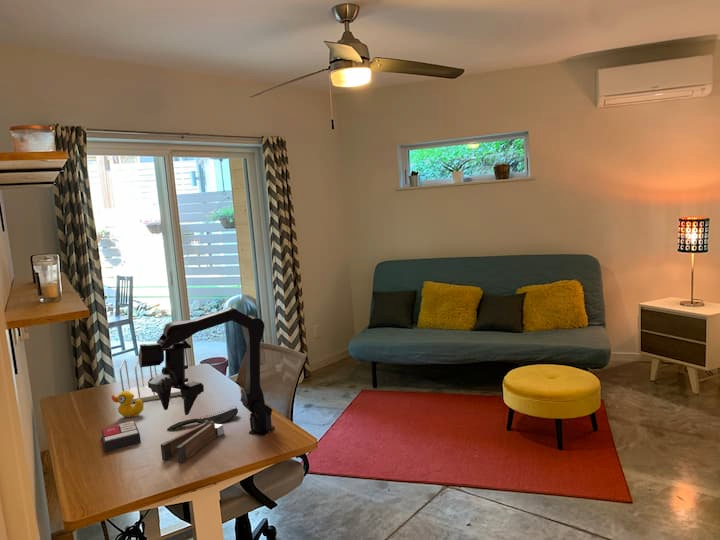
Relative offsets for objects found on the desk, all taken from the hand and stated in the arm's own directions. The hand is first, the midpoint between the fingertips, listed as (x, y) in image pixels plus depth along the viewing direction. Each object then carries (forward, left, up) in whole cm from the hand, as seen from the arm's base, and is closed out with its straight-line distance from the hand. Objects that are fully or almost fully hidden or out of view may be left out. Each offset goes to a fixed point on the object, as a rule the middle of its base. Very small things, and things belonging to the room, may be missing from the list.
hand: (176, 412), depth 165 cm
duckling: (+44, -19, -14) cm, 50 cm away
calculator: (+29, -3, -15) cm, 33 cm away
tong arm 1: (+1, -4, -14) cm, 14 cm away
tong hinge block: (-1, -15, -14) cm, 21 cm away
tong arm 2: (-3, -4, -14) cm, 15 cm away
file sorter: (+54, -42, -14) cm, 70 cm away
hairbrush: (+10, -22, -15) cm, 28 cm away
